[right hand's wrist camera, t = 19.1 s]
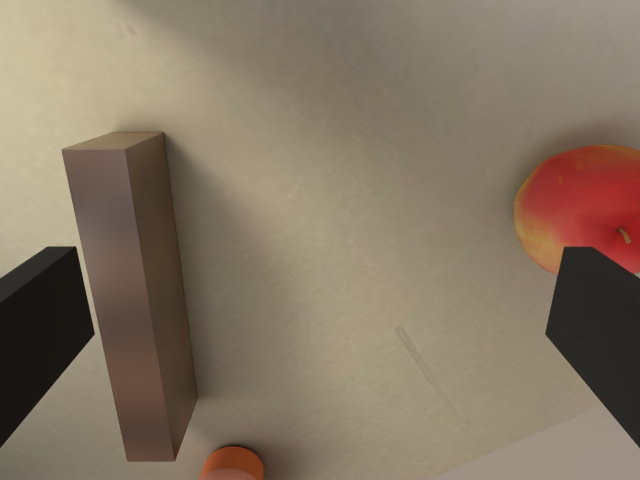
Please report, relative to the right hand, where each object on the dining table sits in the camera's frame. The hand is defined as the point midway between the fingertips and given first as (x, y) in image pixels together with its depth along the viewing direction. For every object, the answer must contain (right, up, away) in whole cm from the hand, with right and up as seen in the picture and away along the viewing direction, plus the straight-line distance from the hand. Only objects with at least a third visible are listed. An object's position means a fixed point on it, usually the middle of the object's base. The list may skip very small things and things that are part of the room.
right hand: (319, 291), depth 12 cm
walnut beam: (-14, -2, +27) cm, 31 cm away
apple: (+19, +5, +24) cm, 31 cm away
